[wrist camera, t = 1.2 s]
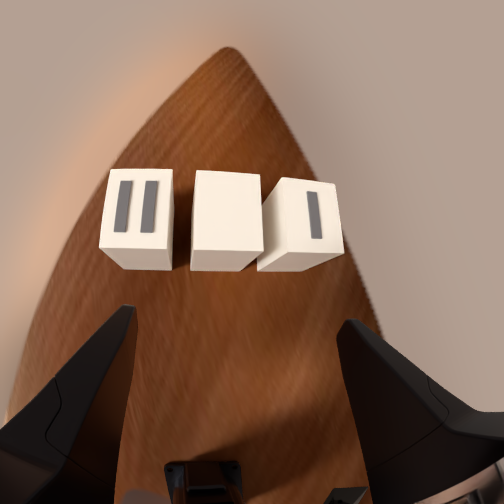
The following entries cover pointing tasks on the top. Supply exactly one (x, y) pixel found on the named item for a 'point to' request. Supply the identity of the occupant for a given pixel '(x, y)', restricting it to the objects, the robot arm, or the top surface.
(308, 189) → the marked block one
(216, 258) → the plain block
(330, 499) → the black angular block
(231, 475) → the robot arm
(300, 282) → the top surface
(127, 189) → the marked block two
